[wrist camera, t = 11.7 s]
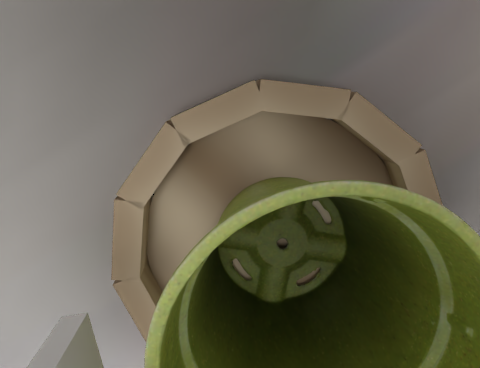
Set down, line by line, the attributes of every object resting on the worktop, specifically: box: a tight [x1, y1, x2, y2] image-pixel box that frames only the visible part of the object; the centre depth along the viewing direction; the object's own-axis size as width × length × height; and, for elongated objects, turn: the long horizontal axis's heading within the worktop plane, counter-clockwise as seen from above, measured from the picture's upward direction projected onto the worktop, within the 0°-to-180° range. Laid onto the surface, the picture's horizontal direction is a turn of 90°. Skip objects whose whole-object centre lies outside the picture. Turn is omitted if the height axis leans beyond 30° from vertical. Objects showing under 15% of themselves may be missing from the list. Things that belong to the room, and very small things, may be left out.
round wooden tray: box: [111, 79, 443, 343], centre depth 17 cm, size 14×14×2 cm
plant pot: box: [144, 177, 480, 368], centre depth 14 cm, size 9×9×9 cm
